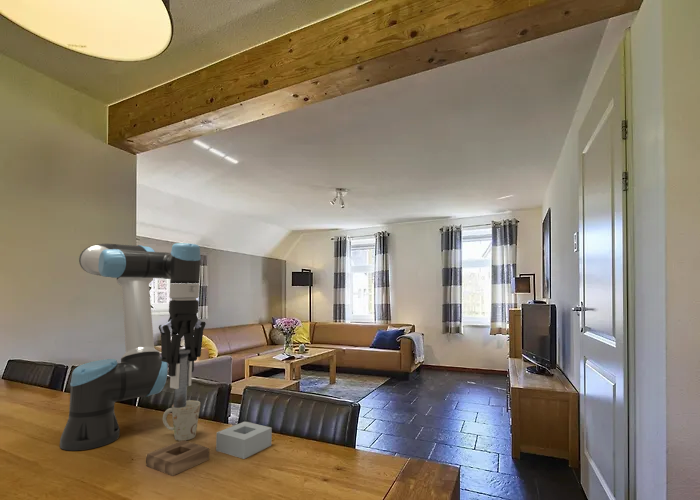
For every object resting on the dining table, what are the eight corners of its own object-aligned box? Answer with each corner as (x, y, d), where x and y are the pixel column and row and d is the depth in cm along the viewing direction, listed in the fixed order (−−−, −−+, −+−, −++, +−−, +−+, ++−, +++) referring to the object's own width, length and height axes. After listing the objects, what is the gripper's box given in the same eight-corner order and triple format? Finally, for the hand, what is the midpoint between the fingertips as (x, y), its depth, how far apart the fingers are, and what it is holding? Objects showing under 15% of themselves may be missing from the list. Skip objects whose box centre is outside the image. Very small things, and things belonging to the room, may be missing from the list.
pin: (168, 406, 106) (170, 349, 108) (181, 402, 110) (183, 347, 111) (178, 409, 104) (180, 351, 106) (191, 405, 108) (193, 349, 109)
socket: (216, 450, 113) (216, 432, 114) (244, 438, 123) (244, 421, 123) (243, 459, 108) (244, 439, 108) (271, 445, 117) (271, 427, 118)
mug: (189, 443, 119) (190, 408, 120) (152, 440, 121) (153, 406, 122) (204, 433, 127) (205, 401, 128) (169, 430, 129) (171, 398, 130)
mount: (146, 465, 104) (146, 453, 104) (182, 450, 113) (183, 440, 114) (172, 475, 98) (173, 463, 98) (208, 459, 108) (209, 447, 108)
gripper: (166, 300, 101) (161, 395, 99) (217, 298, 115) (214, 382, 113) (148, 299, 105) (143, 391, 103) (199, 298, 119) (196, 378, 117)
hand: (180, 386), depth 108 cm, fingers closed on pin, 3 cm apart
